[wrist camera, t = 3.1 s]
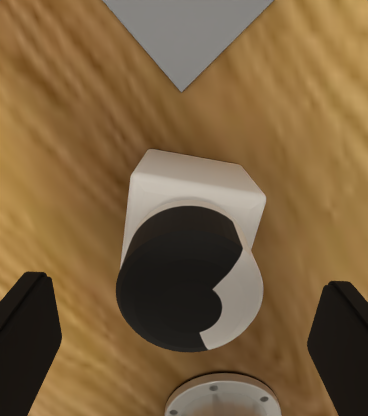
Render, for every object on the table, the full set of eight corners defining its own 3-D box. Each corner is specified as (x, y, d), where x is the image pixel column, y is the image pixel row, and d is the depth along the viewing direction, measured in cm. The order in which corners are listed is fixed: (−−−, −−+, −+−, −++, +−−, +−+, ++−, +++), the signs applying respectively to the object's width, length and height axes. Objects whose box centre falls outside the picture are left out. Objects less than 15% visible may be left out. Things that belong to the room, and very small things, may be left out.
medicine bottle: (136, 233, 23) (91, 363, 12) (147, 147, 20) (103, 209, 9) (221, 246, 24) (254, 383, 12) (242, 164, 21) (309, 243, 10)
